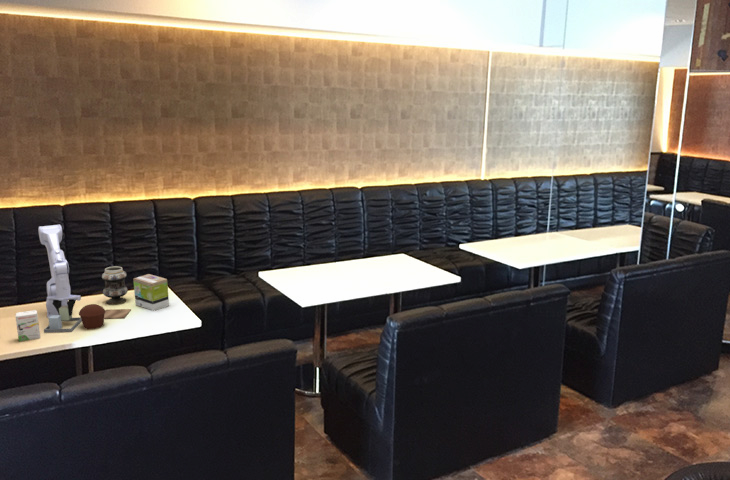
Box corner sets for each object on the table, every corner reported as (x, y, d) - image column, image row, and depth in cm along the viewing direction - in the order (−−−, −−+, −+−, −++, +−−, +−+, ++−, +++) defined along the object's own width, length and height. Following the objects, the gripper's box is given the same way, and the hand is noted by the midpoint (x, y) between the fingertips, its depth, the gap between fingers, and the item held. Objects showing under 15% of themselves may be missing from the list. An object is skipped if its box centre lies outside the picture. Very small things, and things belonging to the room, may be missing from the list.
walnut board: (98, 319, 306) (98, 318, 305) (106, 310, 317) (106, 309, 317) (124, 318, 307) (124, 317, 307) (131, 310, 318) (130, 308, 318)
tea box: (134, 305, 325) (132, 277, 322) (151, 300, 333) (149, 273, 330) (153, 311, 317) (151, 282, 313) (169, 306, 325) (167, 278, 321)
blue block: (49, 330, 291) (48, 318, 290) (53, 327, 295) (51, 315, 293) (58, 330, 291) (57, 318, 290) (62, 327, 295) (60, 315, 294)
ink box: (18, 341, 278) (15, 316, 275) (18, 337, 282) (15, 312, 280) (40, 338, 282) (37, 313, 279) (39, 334, 286) (36, 309, 284)
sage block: (60, 320, 297) (58, 308, 296) (63, 317, 301) (61, 305, 299) (69, 320, 297) (67, 307, 296) (72, 317, 301) (70, 305, 300)
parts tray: (44, 332, 288) (43, 329, 288) (56, 321, 303) (56, 318, 303) (71, 331, 289) (71, 328, 289) (82, 320, 304) (82, 317, 304)
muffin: (111, 322, 301) (110, 302, 299) (97, 331, 291) (95, 310, 289) (89, 320, 304) (87, 300, 301) (74, 328, 293) (72, 308, 291)
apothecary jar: (133, 299, 334) (131, 266, 330) (116, 306, 323) (113, 272, 319) (116, 296, 339) (113, 264, 335) (98, 303, 328) (95, 269, 324)
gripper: (43, 290, 291) (46, 318, 294) (75, 289, 292) (78, 317, 295) (49, 285, 298) (52, 313, 301) (81, 285, 299) (83, 312, 302)
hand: (65, 315), depth 299 cm, fingers closed on sage block, 4 cm apart
